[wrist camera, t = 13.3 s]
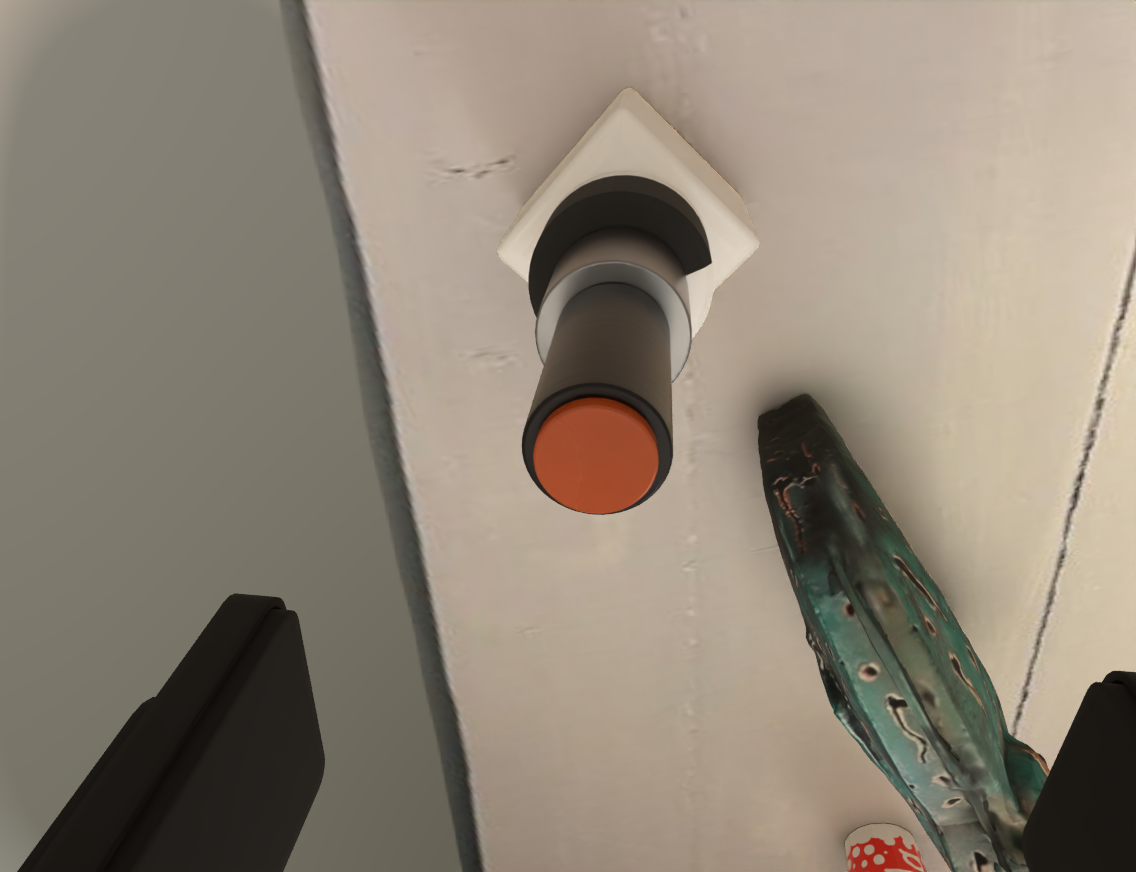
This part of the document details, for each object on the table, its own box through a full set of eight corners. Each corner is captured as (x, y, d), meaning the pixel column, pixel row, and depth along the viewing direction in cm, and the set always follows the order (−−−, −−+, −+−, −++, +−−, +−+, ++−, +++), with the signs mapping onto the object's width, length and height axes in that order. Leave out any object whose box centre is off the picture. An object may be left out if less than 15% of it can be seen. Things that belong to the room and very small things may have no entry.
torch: (550, 223, 25) (485, 358, 16) (694, 230, 25) (714, 370, 16) (549, 356, 27) (492, 541, 18) (682, 363, 27) (692, 556, 18)
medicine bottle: (519, 209, 37) (463, 297, 26) (628, 82, 34) (613, 124, 23) (633, 312, 39) (623, 433, 28) (746, 201, 36) (781, 289, 25)
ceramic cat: (989, 638, 46) (1192, 1038, 28) (879, 679, 48) (1005, 1073, 31) (831, 362, 39) (972, 665, 21) (712, 424, 41) (750, 745, 24)
